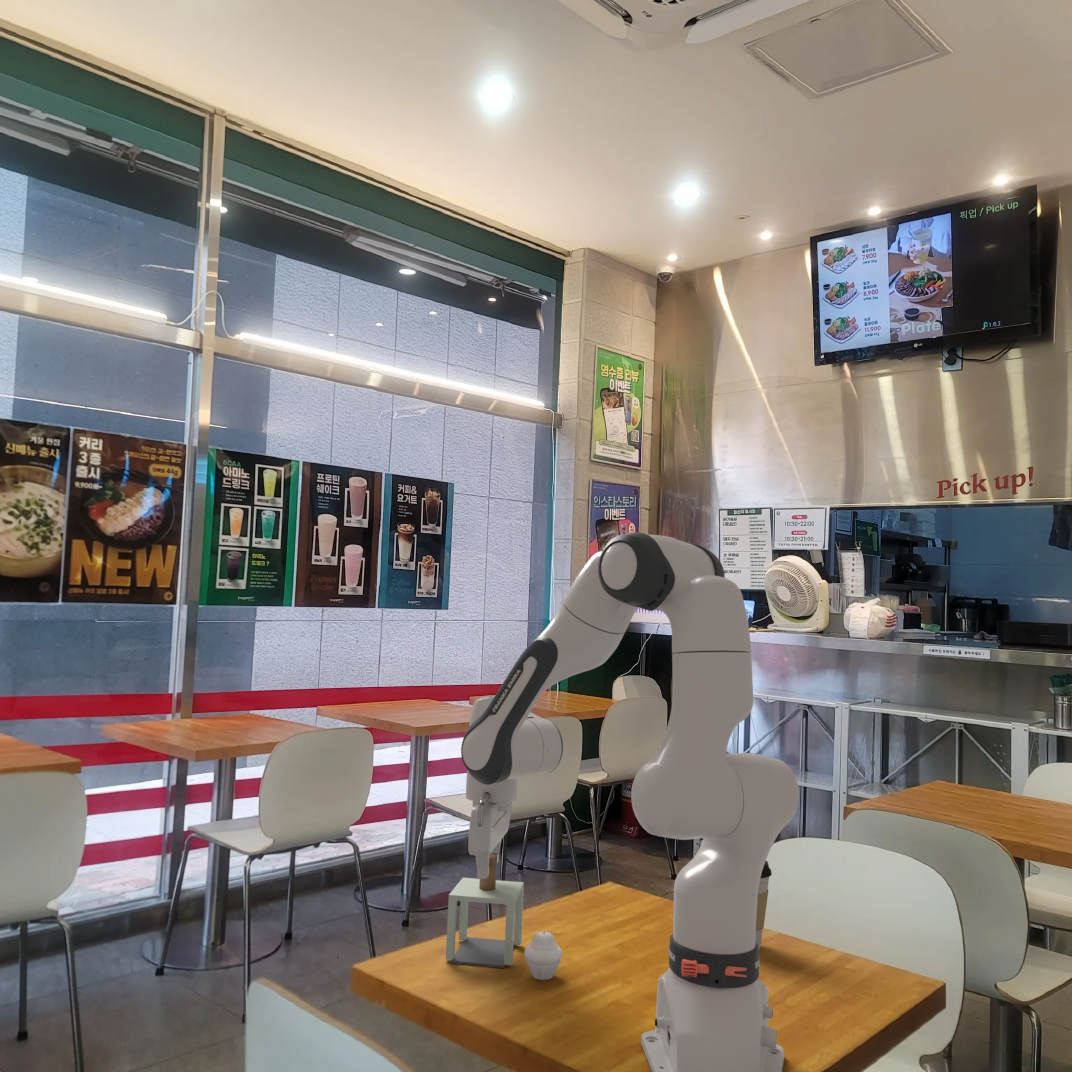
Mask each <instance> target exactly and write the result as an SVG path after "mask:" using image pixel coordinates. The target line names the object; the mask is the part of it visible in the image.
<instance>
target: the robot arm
mask: <svg viewBox="0 0 1072 1072" xmlns="http://www.w3.org/2000/svg"><path fill="white" fill-rule="evenodd" d="M638 609H642V610H645V611H649V612H653V611H655V610H656V611H659V612H660V611H661V612H663V613H664V614H665V616H666V617H667V618H668V621H669V623H670V628H671V656H672V657H671V662H672V687H671V688H672V690H671V691H672V693H671V694H672V696H671V709H670V715H669V719H668V723H667V727H666V730H665V732H664V735H663V737H662V740H661V742H660V743H659V745H658V747H657V749H656V750H655V752H654V753H653V755H652V756H651V757H650V758H649V759H648V760H647V761H646V762H645V763H644V764H643V765H642V766H641V767H640V768H639V769H638V770H637V772H636V774H635V776H634V778H633V782H632V785H631V786H632V787H631V793H630V798H631V799H630V800H631V806H632V811H633V812H634V816H635V818H636V819H637V821H638V823H639V825H640V826H641V827H642V828H643V829H644V830H645V831H646V833H648V834H650V835H653V836H657V837H661V838H662V837H663V838H667V839H673V840H674V839H675V840H680V841H681V840H682V841H687V840H697V839H703V840H702V842H701V844H700V847H699V849H698V850H697V852H696V854H695V855H694V856H693V857H692V859H690V861H689V862H688V863H687V864H686V865H684V866H683V867H682V868H681V869H680V870H679V872H678V873H677V876H676V877H675V881H674V884H673V911H672V912H673V916H672V917H673V920H672V922H673V923H672V926H673V927H672V930H673V931H672V934H670V937H669V943H668V947H667V948H668V965H669V966H668V969H667V970H666V971H665V972H664V973H663V974H662V975H661V976H660V977H659V978H658V979H657V987H656V988H657V989H656V991H657V992H656V1009H655V1010H656V1011H655V1013H656V1014H655V1019H654V1026H655V1029H653V1030H649V1031H645V1032H643V1033H642V1034H641V1037H640V1038H641V1039H640V1044H641V1047H642V1049H643V1052H644V1055H645V1057H646V1059H647V1062H648V1063H647V1064H648V1066H649V1068H650V1070H651V1072H783V1069H784V1068H783V1067H784V1061H785V1050H784V1048H783V1047H782V1045H779V1044H777V1038H778V1037H777V1028H774V1027H769V1020H770V1019H771V1020H773V1017H774V1008H773V1007H772V1006H769V988H768V987H767V986H766V985H765V984H764V983H763V982H762V981H761V980H760V979H759V977H760V964H761V962H760V953H759V951H760V950H758V944H757V943H756V913H757V895H758V887H759V882H760V877H761V873H762V870H763V867H764V864H765V861H767V858H768V857H769V856H768V855H769V853H770V851H771V849H772V847H773V845H774V842H775V841H776V839H777V837H778V836H779V834H780V832H781V831H782V830H783V829H784V828H785V827H786V826H787V825H788V824H789V823H790V822H791V821H792V820H793V818H794V817H795V815H796V814H797V812H798V808H799V803H800V789H799V784H798V780H797V778H796V775H795V774H794V772H793V771H792V769H791V768H790V766H789V765H787V764H786V763H785V762H784V761H783V760H781V759H779V758H777V757H776V758H775V757H772V756H767V755H763V754H759V753H754V752H753V753H752V752H740V753H737V752H736V753H727V750H728V749H727V748H728V745H729V742H730V738H731V737H732V733H733V731H734V730H735V728H736V727H737V726H738V725H739V724H741V723H742V722H743V721H744V720H746V719H747V718H748V717H749V715H750V714H751V712H752V709H753V707H754V685H753V681H754V680H753V664H752V648H751V647H752V646H751V645H752V644H751V636H750V626H749V620H748V615H747V610H746V605H745V601H744V597H743V593H742V590H741V589H740V587H739V586H738V585H737V584H736V583H735V582H734V581H732V580H730V579H728V578H726V577H725V569H724V566H723V564H722V562H721V559H719V558H718V556H716V555H715V553H713V552H712V551H711V550H709V549H707V548H706V547H704V546H702V545H699V544H695V543H688V542H686V541H683V540H680V539H676V538H675V537H672V536H666V535H659V534H647V533H644V532H637V531H636V532H626V533H623V534H620V535H616V536H614V537H613V538H611V539H610V540H609V541H608V542H607V543H606V544H605V546H604V547H603V549H602V550H599V551H597V552H595V553H594V554H593V555H592V556H591V557H590V558H589V559H588V560H587V562H586V563H585V565H584V566H583V567H582V568H581V570H580V571H579V573H578V575H577V576H576V578H575V579H574V581H573V582H572V584H571V586H570V588H569V589H568V591H567V593H566V596H565V597H564V599H563V600H562V603H561V605H560V607H559V608H558V610H557V612H556V614H555V615H554V617H553V618H552V620H551V621H550V623H549V624H547V626H546V627H545V629H543V631H542V632H541V633H540V634H539V635H538V636H537V637H536V638H535V639H534V640H532V642H531V643H530V644H529V645H528V646H527V647H526V648H525V649H524V651H522V653H521V654H520V656H519V658H518V659H517V661H516V662H515V664H514V665H513V667H512V668H511V670H510V671H509V673H508V674H507V676H506V677H505V679H504V681H503V683H502V684H501V686H500V687H499V688H498V690H497V692H496V693H495V694H493V695H492V694H490V695H485V696H480V697H478V698H477V699H476V700H475V701H474V703H473V705H472V709H471V713H470V719H469V727H468V728H467V730H466V732H465V733H464V736H463V738H462V739H463V740H462V742H461V746H460V748H461V749H460V753H461V755H460V756H461V760H462V763H463V766H464V767H465V769H466V782H465V783H466V784H465V798H466V799H467V800H468V801H471V802H472V808H471V810H470V811H471V812H470V818H469V829H468V840H467V841H468V844H467V846H468V847H467V849H468V850H467V851H468V854H469V855H470V856H475V864H476V877H477V878H476V879H486V878H487V877H488V875H489V856H490V857H495V858H497V864H498V862H499V860H500V859H499V858H500V849H501V844H502V840H503V837H504V836H505V835H506V834H507V833H508V831H509V827H510V822H511V814H512V808H513V807H512V806H513V802H515V801H516V800H517V795H518V793H517V792H518V791H517V790H518V779H525V778H529V777H535V776H542V775H546V774H548V773H552V772H554V770H556V768H557V767H558V766H559V764H560V762H561V760H562V757H563V753H564V741H563V737H562V734H561V731H560V729H559V728H558V727H557V725H556V724H555V723H554V722H552V721H551V720H549V719H547V718H543V717H541V716H539V715H537V714H535V713H533V712H532V710H533V708H534V707H535V706H536V704H537V702H538V700H539V699H540V697H541V696H542V695H543V694H544V693H545V692H547V690H548V689H550V688H551V687H553V686H554V685H556V684H557V683H559V682H562V681H563V680H566V679H568V678H570V677H572V676H576V675H578V674H582V673H585V672H588V671H591V670H594V669H596V668H598V667H600V666H602V665H604V664H605V663H606V662H607V661H608V660H609V658H611V656H612V655H613V654H614V652H615V651H616V650H617V649H618V647H619V645H620V644H621V643H620V642H621V641H622V639H623V637H624V635H625V633H626V631H627V630H628V627H629V625H630V623H631V621H632V619H633V617H634V615H635V613H636V611H637V610H638Z"/></svg>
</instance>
